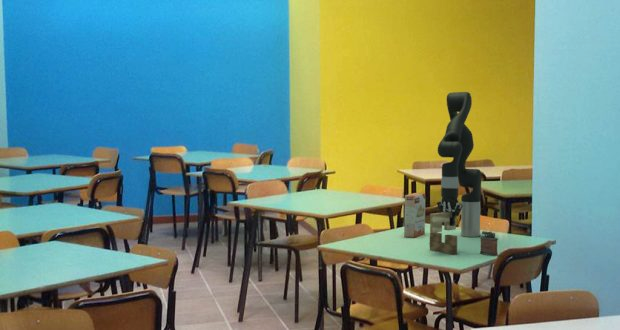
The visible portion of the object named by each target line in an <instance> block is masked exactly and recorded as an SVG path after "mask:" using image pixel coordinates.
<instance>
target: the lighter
mask: <svg viewBox="0 0 620 330" xmlns="http://www.w3.org/2000/svg"><path fill="white" fill-rule="evenodd" d="M481 234H482V236H481V235H480V236H479V238H480V251H479V254H481V255H486V256H493V257H494V256H495V257H496V256H499V255H498V239H499V237H496V232H492V231H485V230H482V231H481Z"/></svg>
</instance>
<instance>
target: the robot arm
mask: <svg viewBox="0 0 620 330" xmlns="http://www.w3.org/2000/svg"><path fill="white" fill-rule="evenodd" d="M472 100H473V99H472V95H471V93H470V92H469V91H455V92H449V93H447V96H446V106H447V111H448V114H449V120H450V121H449V122H448V123H447V126H446V129H445V134H444V136H443V137H442V138H441V139H440V142H439V144H438V146H437V153H438V155H439V156H440V157H441V158H452V161H449V162H448V161H447V162H445V163H442V165H441V180H440V187H441V188H440V197H442V198H441V200H440V201H437V202H436V205H437V207H438V211H439V213H441V212H450V217H451V218H450V226H454V224H455V217H456V218H457V217H459V216H460V215H461V217H460V220H461V221H460V222H461V223H460V224H461V225H460V235H461V236H463V237H467V238H477V237H480V236H481V197H482V196H481V194H482V172H481V170H480V169H479V168H466V162H467V160H468V158H469V157H470V155H471V153H472V151H473V150H474V145H475V144H474V138H473V133H472V131H471V130H470V129H469V127H468V125H466V124H465V123H466V121H467V118H468V116H469V113H470V111H471V109H472V104H473V103H472ZM459 186H460V187H462V188H472V190H471V191H470V192H468V193H465V194H462V195H461V198H460V199H461V201H460V203H459V200H458V197H459ZM460 213H461V214H460Z"/></svg>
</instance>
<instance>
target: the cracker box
mask: <svg viewBox="0 0 620 330" xmlns="http://www.w3.org/2000/svg"><path fill="white" fill-rule="evenodd" d="M403 221H404V224H403V225H404V228H403V229H404V231H403V233H404V234H403V236H404V238H412V239H414V238H415V239H416V238H417V237H420V236H423V235H425V232H426V231H425V230H426V229H425V228H426V193H424V192H413V193H409V194H405V195H404V220H403Z"/></svg>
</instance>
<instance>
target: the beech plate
mask: <svg viewBox="0 0 620 330" xmlns="http://www.w3.org/2000/svg"><path fill="white" fill-rule="evenodd" d="M429 216H430V217H429V228H430V229H429V233H430V232H432V233H436V232H437V233H442V232H443V230H444V231H453V230H457V216H456V217H455V224H454V226H450V218H451V217H450V212H441V213H440V212H436V213H434V212H433V213H429ZM443 225H444V227H443Z"/></svg>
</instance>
